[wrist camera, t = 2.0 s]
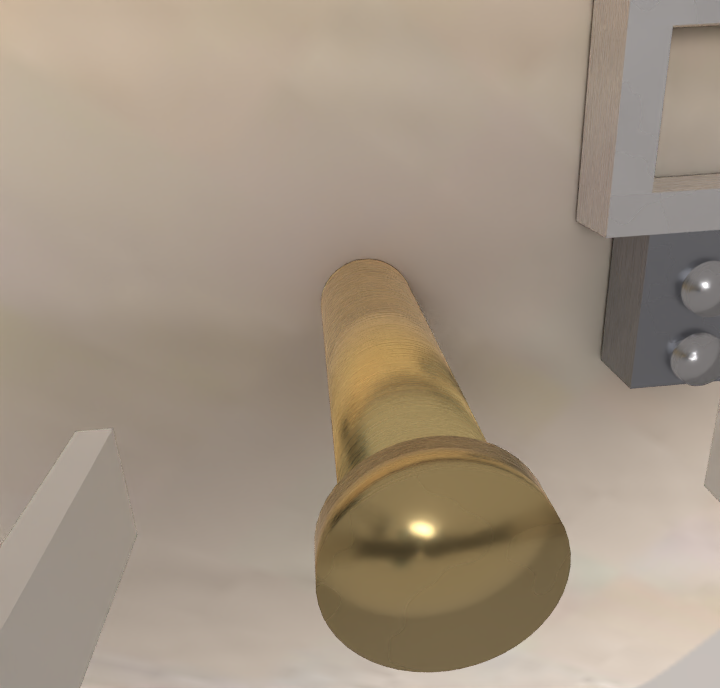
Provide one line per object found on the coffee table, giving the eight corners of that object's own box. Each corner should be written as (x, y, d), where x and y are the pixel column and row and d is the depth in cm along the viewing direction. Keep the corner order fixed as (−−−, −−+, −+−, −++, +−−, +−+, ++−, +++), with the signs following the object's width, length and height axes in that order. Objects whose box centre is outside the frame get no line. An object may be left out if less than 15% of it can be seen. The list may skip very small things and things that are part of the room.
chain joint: (747, 347, 25) (798, 379, 22) (564, 362, 25) (595, 397, 22) (868, -252, 18) (963, -305, 15) (613, -244, 17) (668, -298, 15)
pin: (311, 361, 24) (325, 684, 11) (301, 249, 22) (304, 484, 10) (425, 352, 24) (561, 658, 12) (424, 240, 22) (580, 458, 10)
